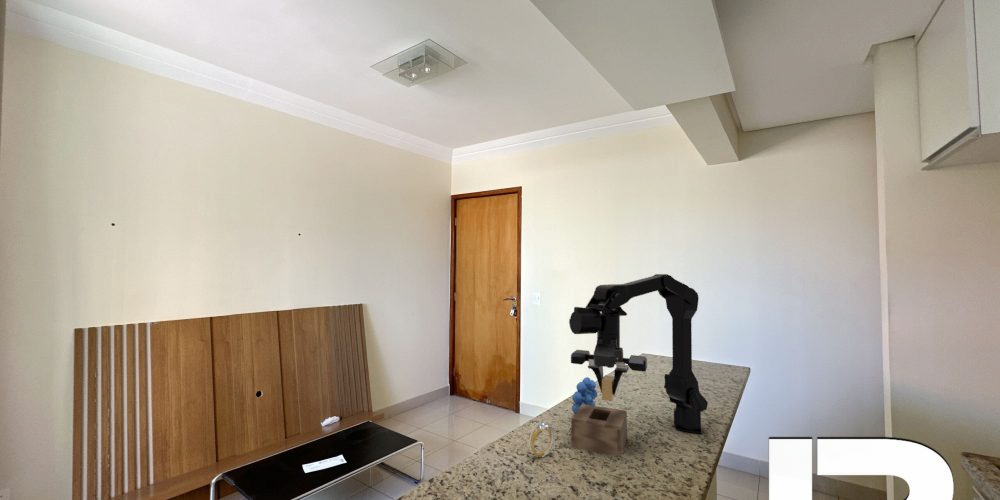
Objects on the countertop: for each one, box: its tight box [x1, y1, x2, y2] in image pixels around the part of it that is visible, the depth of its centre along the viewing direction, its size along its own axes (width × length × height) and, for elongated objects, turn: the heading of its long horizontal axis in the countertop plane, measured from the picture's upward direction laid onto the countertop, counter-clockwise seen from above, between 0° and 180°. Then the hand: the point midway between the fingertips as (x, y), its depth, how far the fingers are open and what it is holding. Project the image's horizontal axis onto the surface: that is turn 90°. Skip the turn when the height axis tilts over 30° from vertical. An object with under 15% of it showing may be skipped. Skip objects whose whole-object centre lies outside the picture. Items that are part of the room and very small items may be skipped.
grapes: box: [571, 376, 598, 415], centre depth 117 cm, size 12×7×12 cm, turn 134°
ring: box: [528, 420, 556, 458], centre depth 92 cm, size 7×3×8 cm, turn 118°
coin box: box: [570, 404, 628, 458], centre depth 100 cm, size 12×12×7 cm
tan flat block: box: [601, 374, 616, 402], centre depth 100 cm, size 2×5×5 cm, turn 155°
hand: (608, 393), depth 100 cm, fingers closed on tan flat block, 2 cm apart
